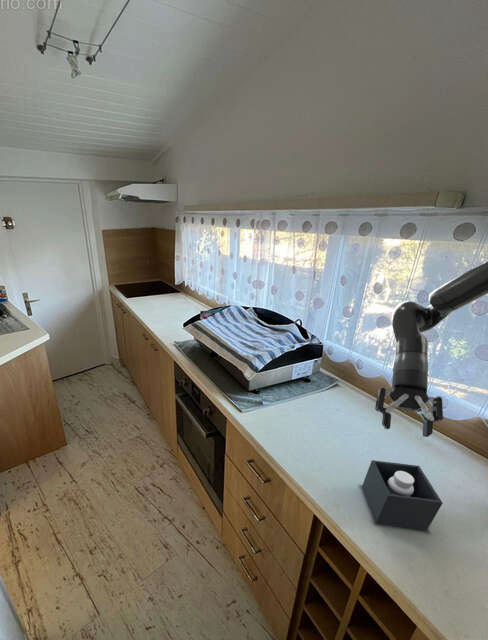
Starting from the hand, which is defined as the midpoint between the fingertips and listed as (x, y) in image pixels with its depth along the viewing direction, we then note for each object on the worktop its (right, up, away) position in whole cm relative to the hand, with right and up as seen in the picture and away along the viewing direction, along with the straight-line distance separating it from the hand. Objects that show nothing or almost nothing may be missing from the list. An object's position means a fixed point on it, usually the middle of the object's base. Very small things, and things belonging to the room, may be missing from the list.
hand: (406, 432), depth 77 cm
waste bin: (-3, -20, +1) cm, 20 cm away
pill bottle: (-3, -19, +1) cm, 19 cm away
